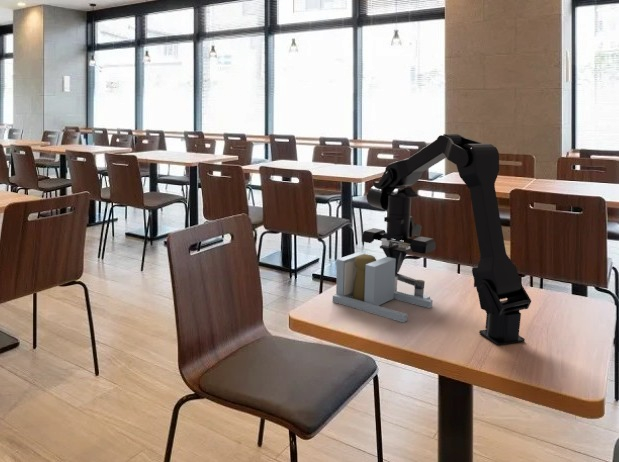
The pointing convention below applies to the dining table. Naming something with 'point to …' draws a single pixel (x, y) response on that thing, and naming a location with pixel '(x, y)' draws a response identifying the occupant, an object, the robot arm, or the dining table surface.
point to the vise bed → (345, 291)
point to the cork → (361, 276)
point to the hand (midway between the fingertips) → (396, 272)
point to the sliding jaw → (380, 281)
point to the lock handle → (410, 281)
